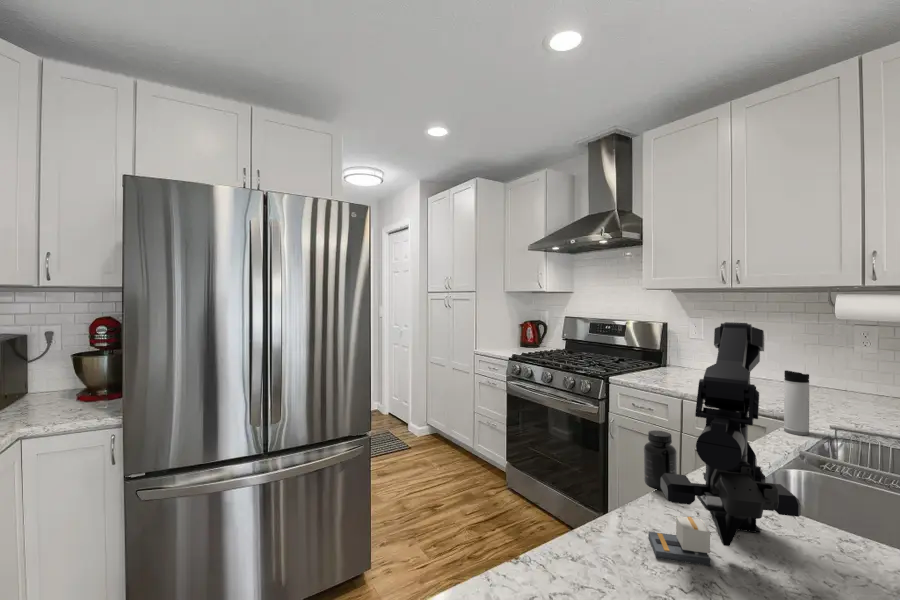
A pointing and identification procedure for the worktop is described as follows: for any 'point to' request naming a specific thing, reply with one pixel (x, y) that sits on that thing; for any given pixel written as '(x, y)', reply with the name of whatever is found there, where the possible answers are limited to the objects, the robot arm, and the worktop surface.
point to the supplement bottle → (658, 458)
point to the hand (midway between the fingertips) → (725, 544)
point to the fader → (693, 534)
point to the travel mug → (796, 403)
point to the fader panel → (675, 550)
